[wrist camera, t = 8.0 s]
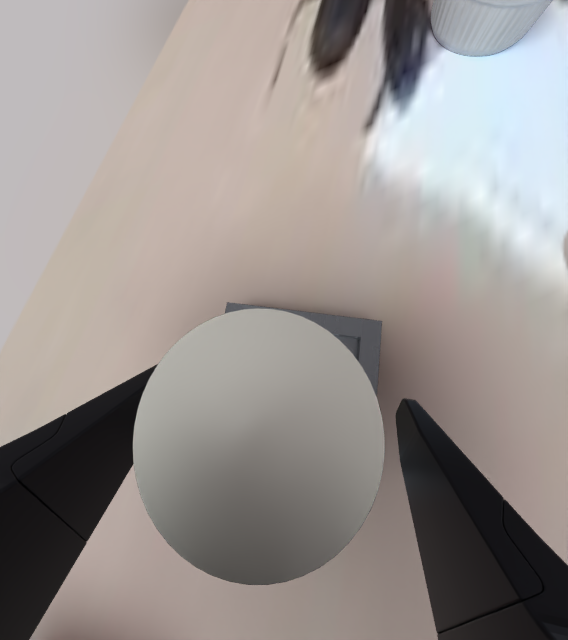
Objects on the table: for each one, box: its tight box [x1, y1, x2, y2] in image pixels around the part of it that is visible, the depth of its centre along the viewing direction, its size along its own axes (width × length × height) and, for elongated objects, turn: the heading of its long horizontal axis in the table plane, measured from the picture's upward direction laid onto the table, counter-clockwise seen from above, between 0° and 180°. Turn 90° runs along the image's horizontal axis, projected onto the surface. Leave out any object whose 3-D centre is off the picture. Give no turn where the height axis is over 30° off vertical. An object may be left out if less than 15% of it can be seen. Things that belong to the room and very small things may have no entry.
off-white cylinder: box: [133, 308, 385, 585], centre depth 11 cm, size 5×5×12 cm
